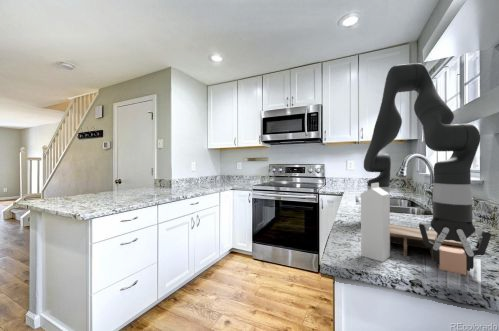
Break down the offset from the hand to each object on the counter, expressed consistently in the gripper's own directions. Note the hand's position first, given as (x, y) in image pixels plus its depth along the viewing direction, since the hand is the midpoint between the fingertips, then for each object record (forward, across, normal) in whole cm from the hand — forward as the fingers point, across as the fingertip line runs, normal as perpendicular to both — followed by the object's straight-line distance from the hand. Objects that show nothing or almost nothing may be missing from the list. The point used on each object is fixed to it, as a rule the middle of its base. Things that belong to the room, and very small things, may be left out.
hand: (451, 266), depth 56 cm
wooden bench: (+1, +7, -10) cm, 12 cm away
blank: (+1, 0, -4) cm, 4 cm away
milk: (+1, +17, +2) cm, 17 cm away
